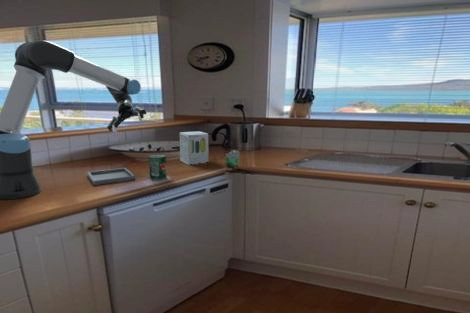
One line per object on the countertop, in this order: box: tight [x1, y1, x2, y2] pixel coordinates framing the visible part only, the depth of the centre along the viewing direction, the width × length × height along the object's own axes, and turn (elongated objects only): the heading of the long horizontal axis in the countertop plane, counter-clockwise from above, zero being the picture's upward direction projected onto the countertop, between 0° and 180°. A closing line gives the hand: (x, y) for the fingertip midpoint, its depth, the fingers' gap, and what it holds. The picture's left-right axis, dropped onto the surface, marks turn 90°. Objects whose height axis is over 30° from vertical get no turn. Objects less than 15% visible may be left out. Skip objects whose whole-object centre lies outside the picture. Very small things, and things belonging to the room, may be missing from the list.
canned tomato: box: [148, 153, 167, 181], centre depth 148 cm, size 8×8×11 cm
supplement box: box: [179, 130, 209, 165], centre depth 184 cm, size 13×13×18 cm
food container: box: [225, 149, 241, 172], centre depth 167 cm, size 12×6×10 cm, turn 168°
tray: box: [86, 167, 136, 186], centre depth 148 cm, size 18×18×2 cm
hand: (127, 127), depth 148 cm, fingers open, 13 cm apart
